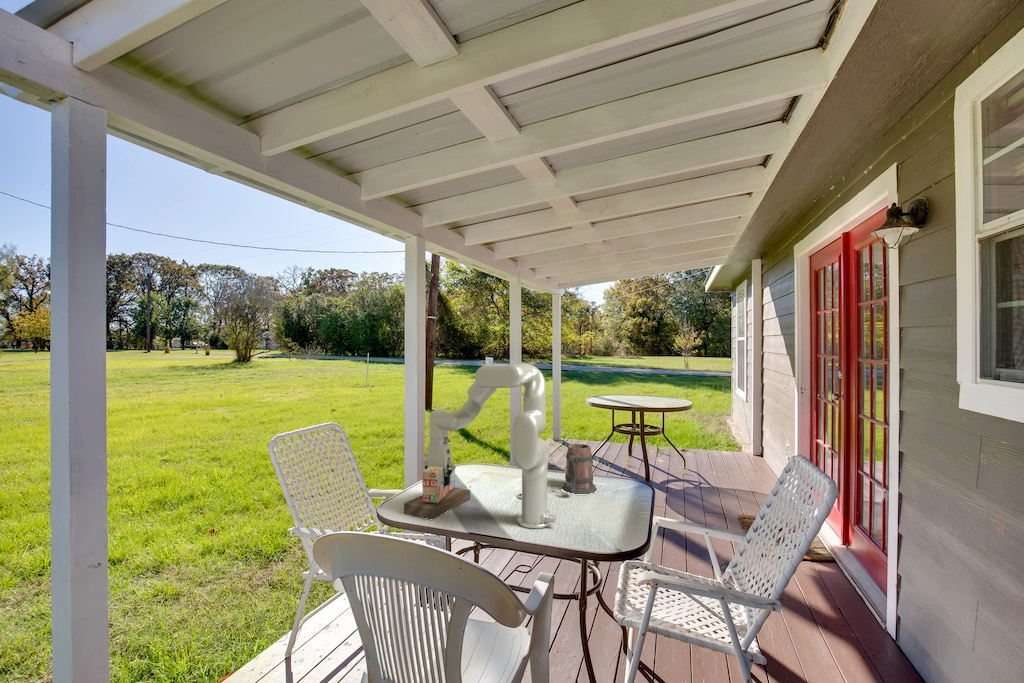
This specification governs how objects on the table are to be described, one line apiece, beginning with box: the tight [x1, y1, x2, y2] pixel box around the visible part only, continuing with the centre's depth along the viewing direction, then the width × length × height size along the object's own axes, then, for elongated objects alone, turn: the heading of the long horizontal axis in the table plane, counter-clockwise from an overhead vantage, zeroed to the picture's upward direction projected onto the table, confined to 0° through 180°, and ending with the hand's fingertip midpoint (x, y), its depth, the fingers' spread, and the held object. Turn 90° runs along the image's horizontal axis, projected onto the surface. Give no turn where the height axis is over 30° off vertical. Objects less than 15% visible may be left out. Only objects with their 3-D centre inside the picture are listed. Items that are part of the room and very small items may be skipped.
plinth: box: [403, 486, 471, 520], centre depth 189 cm, size 14×26×4 cm, turn 151°
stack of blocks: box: [421, 465, 456, 503], centre depth 190 cm, size 21×6×12 cm, turn 168°
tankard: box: [561, 443, 598, 494], centre depth 209 cm, size 24×17×20 cm
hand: (438, 483), depth 189 cm, fingers closed on stack of blocks, 7 cm apart
